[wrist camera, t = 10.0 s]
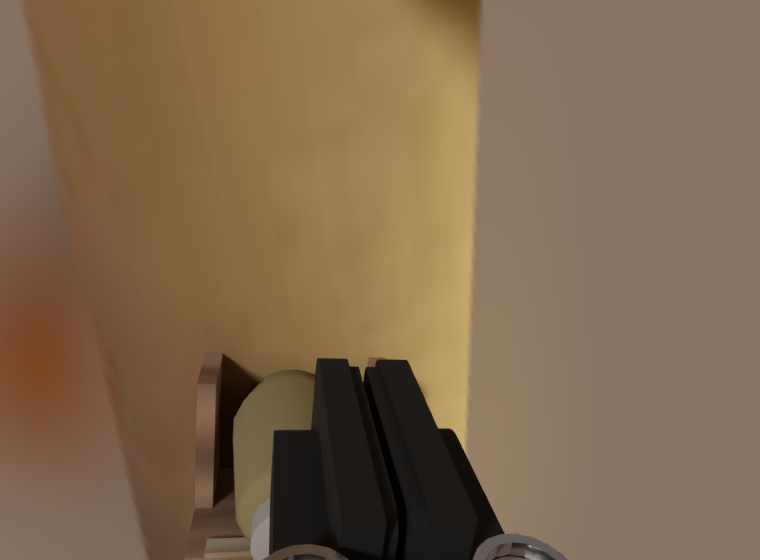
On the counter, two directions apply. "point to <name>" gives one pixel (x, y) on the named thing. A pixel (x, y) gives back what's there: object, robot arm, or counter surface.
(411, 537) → the robot arm
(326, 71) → the counter surface
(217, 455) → the walnut holder
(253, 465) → the squeeze bottle
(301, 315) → the counter surface
